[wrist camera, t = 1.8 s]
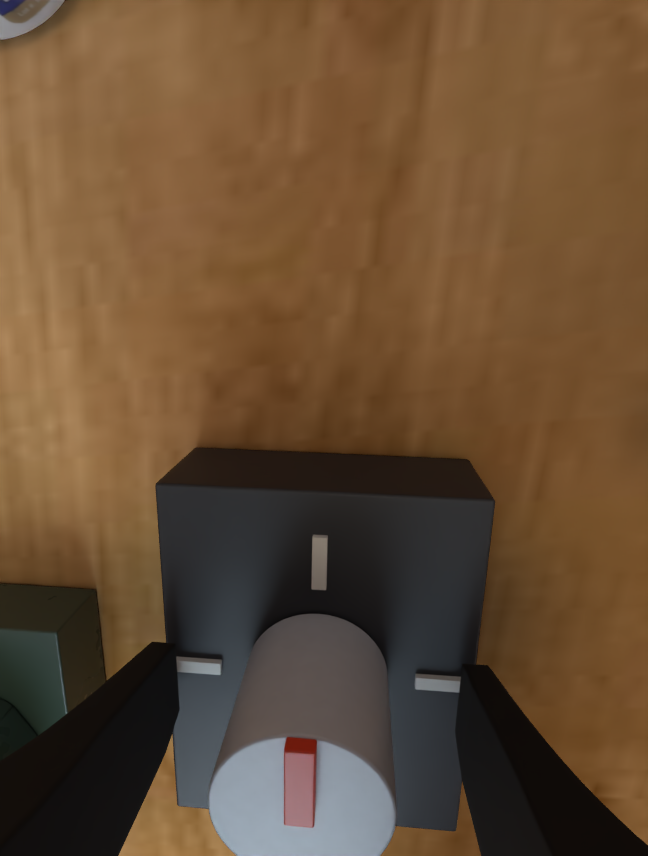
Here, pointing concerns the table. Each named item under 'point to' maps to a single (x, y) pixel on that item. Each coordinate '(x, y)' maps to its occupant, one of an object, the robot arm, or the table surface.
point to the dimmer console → (327, 592)
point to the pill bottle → (24, 15)
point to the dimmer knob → (308, 746)
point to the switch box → (45, 658)
